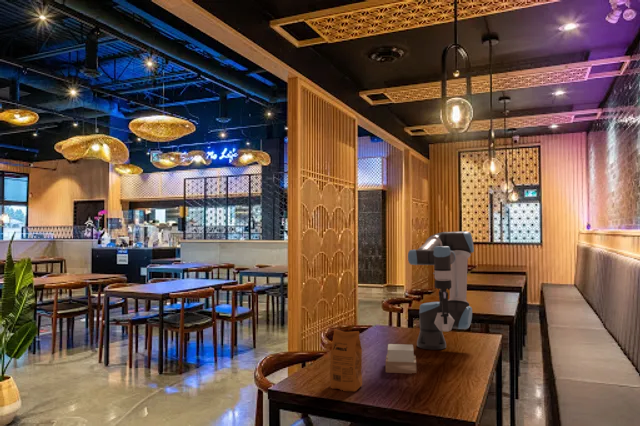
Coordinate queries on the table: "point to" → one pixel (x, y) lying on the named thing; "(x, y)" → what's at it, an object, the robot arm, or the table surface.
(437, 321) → the die
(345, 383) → the coffee package
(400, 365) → the bottom slab
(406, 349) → the top slab
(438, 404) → the table surface
